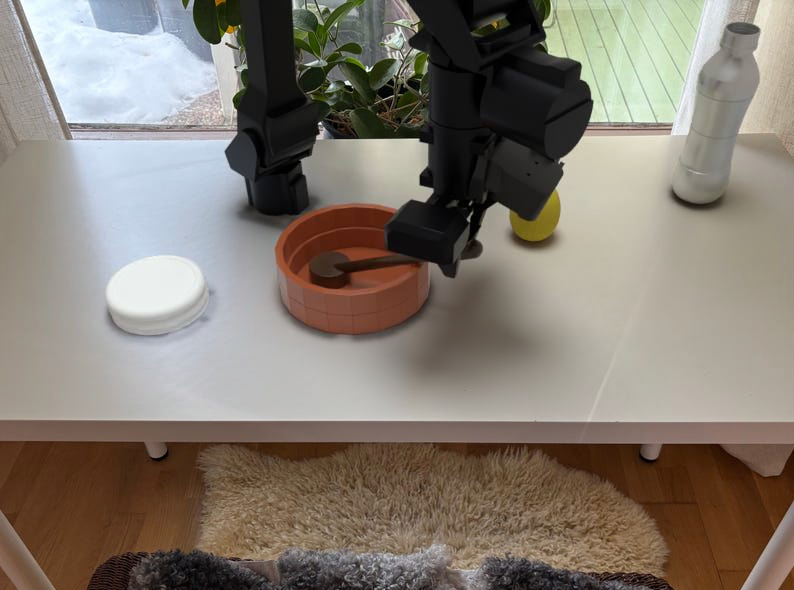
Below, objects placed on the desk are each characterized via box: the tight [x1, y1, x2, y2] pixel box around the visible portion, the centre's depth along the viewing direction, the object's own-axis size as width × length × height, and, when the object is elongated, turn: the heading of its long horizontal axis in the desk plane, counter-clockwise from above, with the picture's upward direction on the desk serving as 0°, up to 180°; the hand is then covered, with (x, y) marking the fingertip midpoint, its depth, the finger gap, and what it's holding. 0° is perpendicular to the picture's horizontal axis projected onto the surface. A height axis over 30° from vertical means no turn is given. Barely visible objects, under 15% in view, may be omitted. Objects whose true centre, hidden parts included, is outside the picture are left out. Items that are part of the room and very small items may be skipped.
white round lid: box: [104, 254, 210, 336], centre depth 79 cm, size 10×10×4 cm
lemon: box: [508, 188, 562, 242], centre depth 85 cm, size 6×6×8 cm
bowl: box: [274, 202, 432, 335], centre depth 80 cm, size 16×16×6 cm
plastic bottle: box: [671, 21, 762, 205], centre depth 87 cm, size 6×7×20 cm
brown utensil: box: [309, 238, 484, 289], centre depth 77 cm, size 19×4×10 cm, turn 64°
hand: (457, 266), depth 74 cm, fingers open, 3 cm apart
